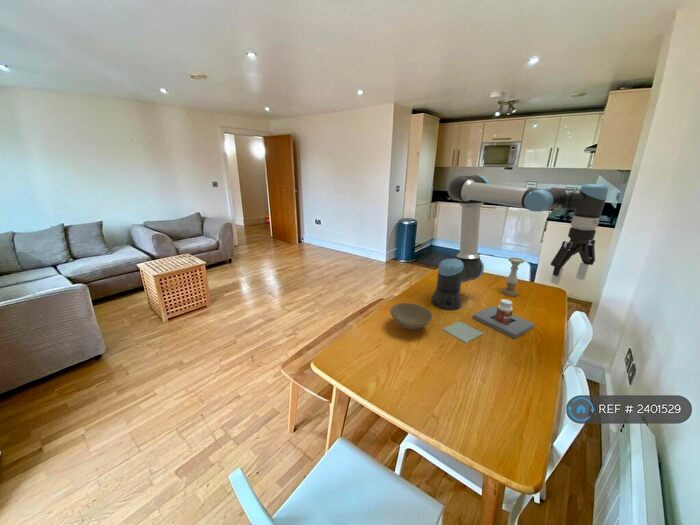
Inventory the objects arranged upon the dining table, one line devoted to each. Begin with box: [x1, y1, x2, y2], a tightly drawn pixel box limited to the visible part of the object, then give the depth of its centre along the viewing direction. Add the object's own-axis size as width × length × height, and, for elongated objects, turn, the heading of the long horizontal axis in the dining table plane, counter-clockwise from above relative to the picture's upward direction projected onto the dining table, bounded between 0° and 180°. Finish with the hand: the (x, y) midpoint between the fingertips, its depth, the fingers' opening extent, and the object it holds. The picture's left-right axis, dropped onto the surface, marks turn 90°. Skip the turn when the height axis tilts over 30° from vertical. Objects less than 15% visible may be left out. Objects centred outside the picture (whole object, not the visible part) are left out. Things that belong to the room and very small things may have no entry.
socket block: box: [472, 305, 536, 340], centre depth 129 cm, size 20×16×2 cm
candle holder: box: [500, 257, 525, 297], centre depth 156 cm, size 9×9×20 cm
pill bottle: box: [494, 298, 514, 325], centre depth 127 cm, size 6×6×11 cm
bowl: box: [389, 302, 433, 331], centre depth 124 cm, size 18×18×8 cm
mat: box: [442, 321, 484, 344], centre depth 122 cm, size 12×12×1 cm
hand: (567, 281), depth 109 cm, fingers open, 13 cm apart
